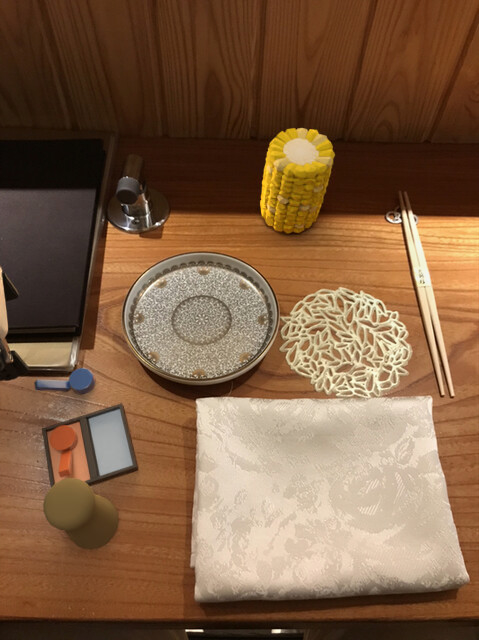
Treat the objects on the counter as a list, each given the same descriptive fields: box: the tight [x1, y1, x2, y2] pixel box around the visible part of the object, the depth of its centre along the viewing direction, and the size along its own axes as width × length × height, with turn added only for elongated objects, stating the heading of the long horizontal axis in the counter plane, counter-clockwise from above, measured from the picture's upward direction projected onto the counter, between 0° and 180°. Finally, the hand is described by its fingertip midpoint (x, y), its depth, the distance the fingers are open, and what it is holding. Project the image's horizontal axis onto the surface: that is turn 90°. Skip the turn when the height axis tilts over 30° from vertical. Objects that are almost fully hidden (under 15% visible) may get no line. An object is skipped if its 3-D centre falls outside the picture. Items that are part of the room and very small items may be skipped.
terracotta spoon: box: [50, 425, 78, 477], centre depth 68 cm, size 7×3×4 cm, turn 18°
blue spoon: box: [33, 367, 96, 395], centre depth 74 cm, size 7×3×4 cm, turn 108°
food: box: [259, 127, 336, 235], centre depth 83 cm, size 15×12×10 cm
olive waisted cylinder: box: [42, 478, 120, 550], centre depth 61 cm, size 6×6×11 cm
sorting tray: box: [41, 402, 139, 488], centre depth 70 cm, size 10×9×1 cm
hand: (9, 335), depth 60 cm, fingers open, 9 cm apart
